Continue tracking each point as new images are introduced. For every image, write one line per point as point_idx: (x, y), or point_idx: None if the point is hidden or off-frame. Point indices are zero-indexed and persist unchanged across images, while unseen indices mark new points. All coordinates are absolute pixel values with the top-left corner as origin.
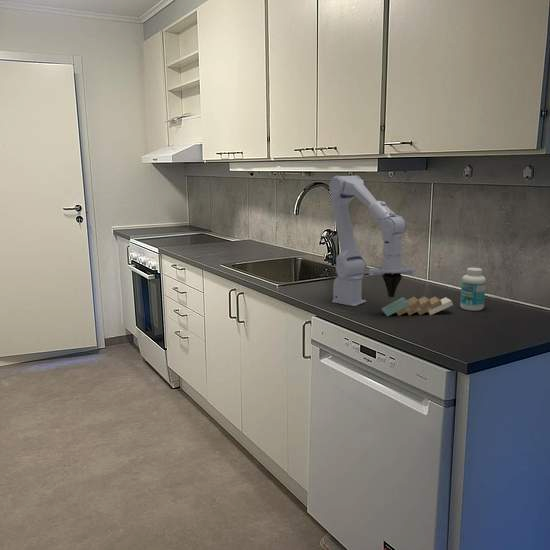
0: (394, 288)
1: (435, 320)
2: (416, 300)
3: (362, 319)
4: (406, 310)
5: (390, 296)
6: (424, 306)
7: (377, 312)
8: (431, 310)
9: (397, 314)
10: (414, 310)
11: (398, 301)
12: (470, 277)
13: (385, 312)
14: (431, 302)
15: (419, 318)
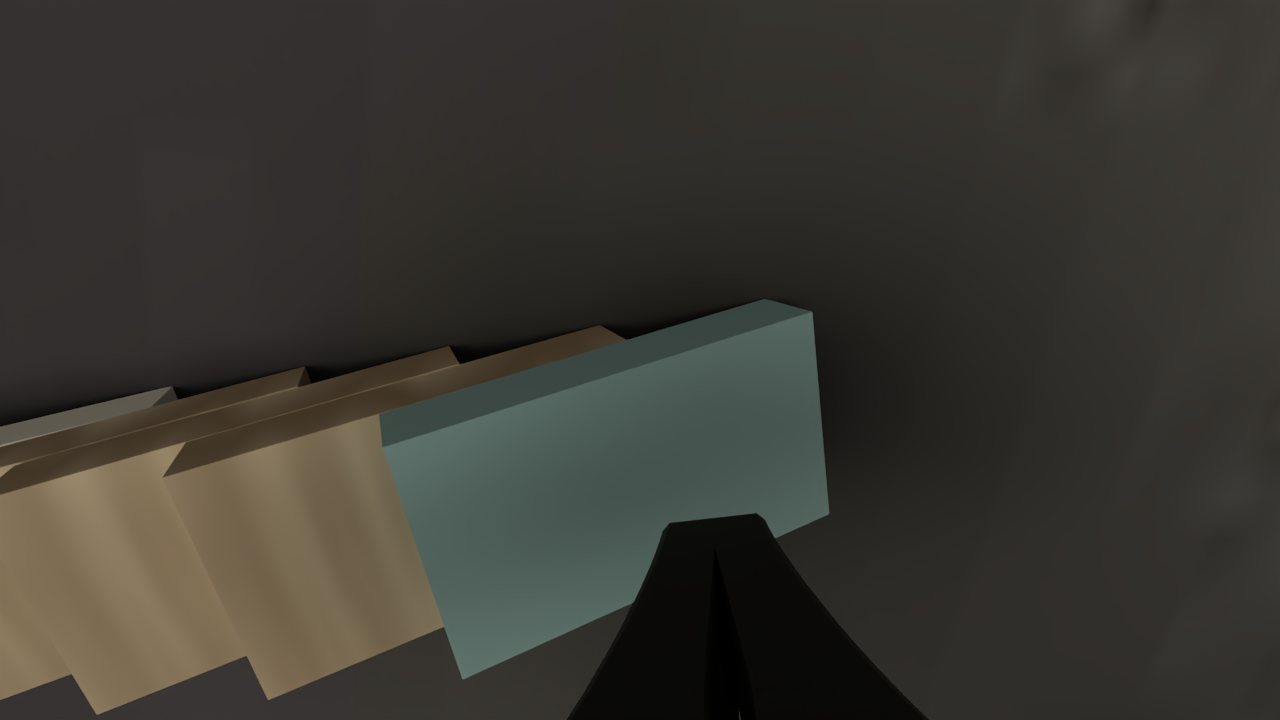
0: (664, 662)
1: (81, 112)
2: (219, 496)
3: (1210, 125)
4: (466, 370)
5: (752, 522)
6: (155, 429)
7: (861, 494)
8: (106, 415)
9: None
10: (344, 384)
11: (563, 556)
12: None
13: (810, 314)
14: None
15: (312, 213)
